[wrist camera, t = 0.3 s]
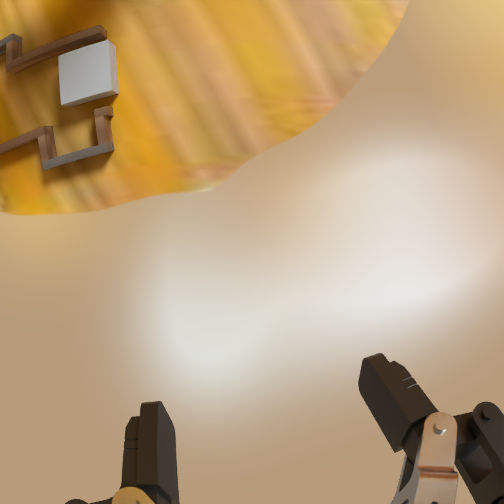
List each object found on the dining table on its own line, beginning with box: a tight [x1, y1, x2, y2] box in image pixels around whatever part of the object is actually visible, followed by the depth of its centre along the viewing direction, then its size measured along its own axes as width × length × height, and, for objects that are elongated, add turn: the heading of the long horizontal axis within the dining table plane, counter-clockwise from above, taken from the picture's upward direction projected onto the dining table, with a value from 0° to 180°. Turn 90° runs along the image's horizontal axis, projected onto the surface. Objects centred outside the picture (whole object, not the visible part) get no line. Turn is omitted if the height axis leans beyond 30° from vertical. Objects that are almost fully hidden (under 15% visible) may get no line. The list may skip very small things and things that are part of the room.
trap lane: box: [0, 25, 114, 171], centre depth 24 cm, size 19×22×2 cm
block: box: [58, 40, 119, 107], centre depth 25 cm, size 6×6×4 cm
